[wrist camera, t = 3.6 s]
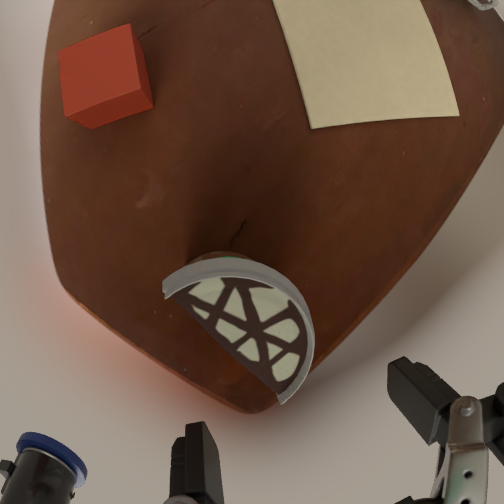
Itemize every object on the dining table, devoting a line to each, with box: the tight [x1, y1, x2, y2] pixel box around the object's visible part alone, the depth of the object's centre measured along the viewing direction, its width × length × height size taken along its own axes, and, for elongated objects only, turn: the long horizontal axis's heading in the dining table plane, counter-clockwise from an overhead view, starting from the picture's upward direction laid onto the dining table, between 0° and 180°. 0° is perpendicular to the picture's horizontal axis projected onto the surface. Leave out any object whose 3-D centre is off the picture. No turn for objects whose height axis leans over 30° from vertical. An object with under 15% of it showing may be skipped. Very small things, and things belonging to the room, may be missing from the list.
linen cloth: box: [272, 0, 459, 129], centre depth 24 cm, size 20×18×1 cm
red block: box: [58, 23, 154, 129], centre depth 20 cm, size 6×6×6 cm
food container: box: [162, 251, 315, 404], centre depth 23 cm, size 12×6×10 cm, turn 39°
